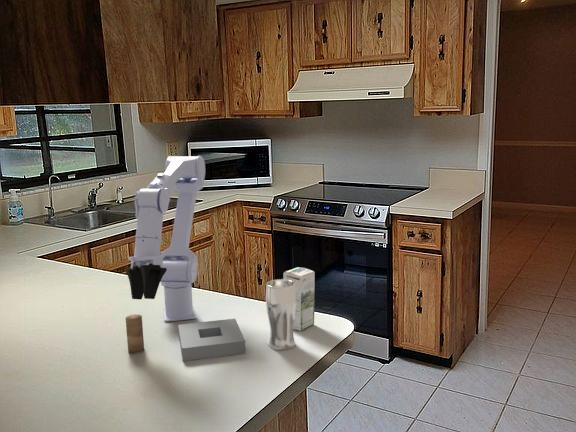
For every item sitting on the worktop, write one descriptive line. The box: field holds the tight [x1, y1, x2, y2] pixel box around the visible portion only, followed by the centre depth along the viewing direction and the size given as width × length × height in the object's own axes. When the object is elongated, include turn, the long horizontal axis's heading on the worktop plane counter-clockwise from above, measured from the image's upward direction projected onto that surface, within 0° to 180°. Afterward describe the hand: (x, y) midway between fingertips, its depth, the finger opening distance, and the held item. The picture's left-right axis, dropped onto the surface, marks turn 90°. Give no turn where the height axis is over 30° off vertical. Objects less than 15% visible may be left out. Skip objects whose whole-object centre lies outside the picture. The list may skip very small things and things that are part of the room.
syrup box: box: [282, 266, 316, 332], centre depth 137 cm, size 6×6×14 cm
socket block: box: [177, 318, 246, 362], centre depth 128 cm, size 14×14×3 cm
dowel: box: [125, 313, 145, 354], centre depth 126 cm, size 4×4×8 cm
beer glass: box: [265, 278, 296, 351], centre depth 126 cm, size 7×7×15 cm
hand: (143, 299), depth 123 cm, fingers open, 7 cm apart
